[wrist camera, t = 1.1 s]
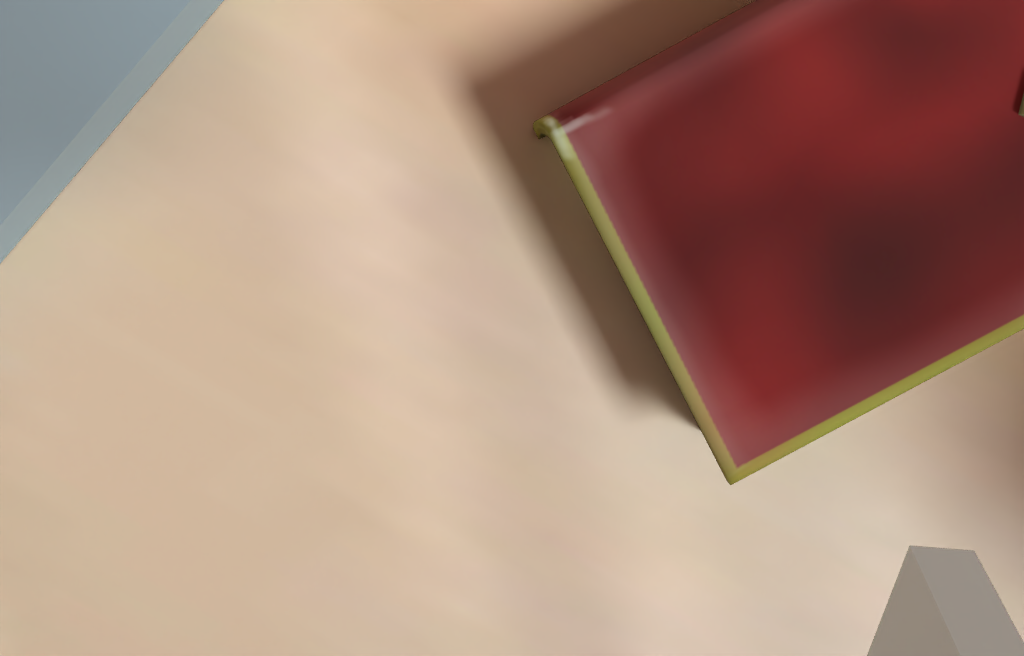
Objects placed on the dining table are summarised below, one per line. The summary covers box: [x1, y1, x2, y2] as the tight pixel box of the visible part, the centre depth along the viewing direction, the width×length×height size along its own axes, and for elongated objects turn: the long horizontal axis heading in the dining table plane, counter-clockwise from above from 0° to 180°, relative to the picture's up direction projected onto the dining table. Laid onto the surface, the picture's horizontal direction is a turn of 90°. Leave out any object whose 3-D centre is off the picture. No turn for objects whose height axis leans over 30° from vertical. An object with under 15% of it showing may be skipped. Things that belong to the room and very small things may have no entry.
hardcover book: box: [533, 0, 1024, 485], centre depth 28 cm, size 12×21×4 cm, turn 118°
